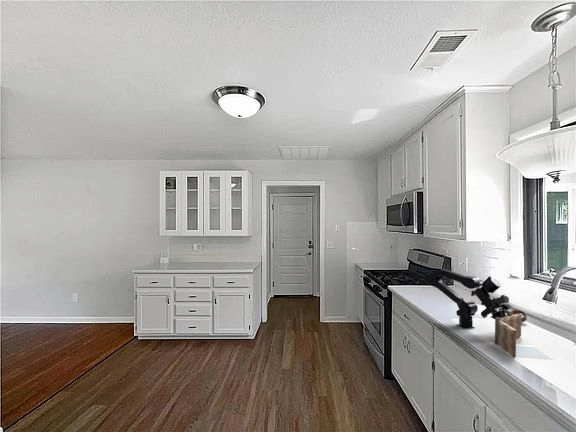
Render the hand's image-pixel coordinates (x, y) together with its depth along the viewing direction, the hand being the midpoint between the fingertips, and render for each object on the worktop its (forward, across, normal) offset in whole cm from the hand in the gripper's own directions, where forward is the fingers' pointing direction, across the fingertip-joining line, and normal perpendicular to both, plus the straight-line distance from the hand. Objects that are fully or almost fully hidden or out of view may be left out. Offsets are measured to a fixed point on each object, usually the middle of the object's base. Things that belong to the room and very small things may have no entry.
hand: (508, 325), depth 168 cm
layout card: (+12, -11, -2) cm, 17 cm away
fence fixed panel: (+9, -17, 0) cm, 19 cm away
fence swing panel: (+5, -1, +4) cm, 6 cm away
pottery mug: (-5, +35, +15) cm, 38 cm away
